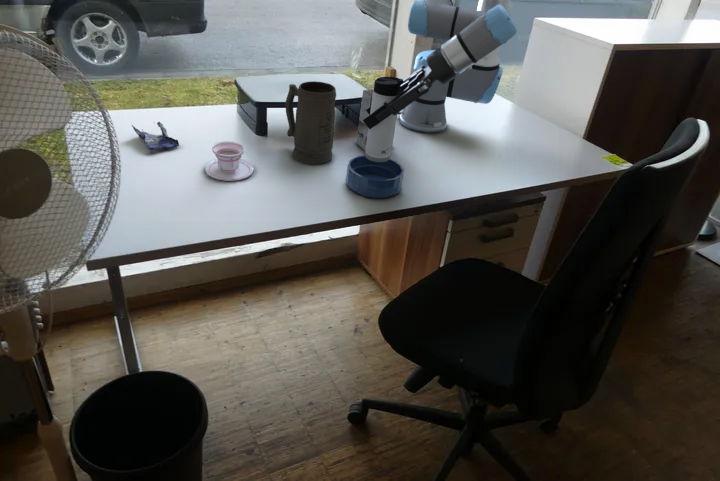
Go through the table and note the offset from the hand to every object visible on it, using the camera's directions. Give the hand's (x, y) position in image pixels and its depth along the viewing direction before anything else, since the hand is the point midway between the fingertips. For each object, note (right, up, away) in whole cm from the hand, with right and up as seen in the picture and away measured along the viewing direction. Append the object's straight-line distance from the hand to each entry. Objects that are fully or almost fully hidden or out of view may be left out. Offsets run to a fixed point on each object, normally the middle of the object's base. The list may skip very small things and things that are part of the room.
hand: (368, 119), depth 135 cm
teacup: (-35, -12, +8) cm, 38 cm away
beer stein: (-17, -5, +21) cm, 28 cm away
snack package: (-56, -4, +15) cm, 59 cm away
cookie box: (+2, -1, +31) cm, 31 cm away
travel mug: (+2, -8, +5) cm, 10 cm away
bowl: (+1, -15, +10) cm, 18 cm away
